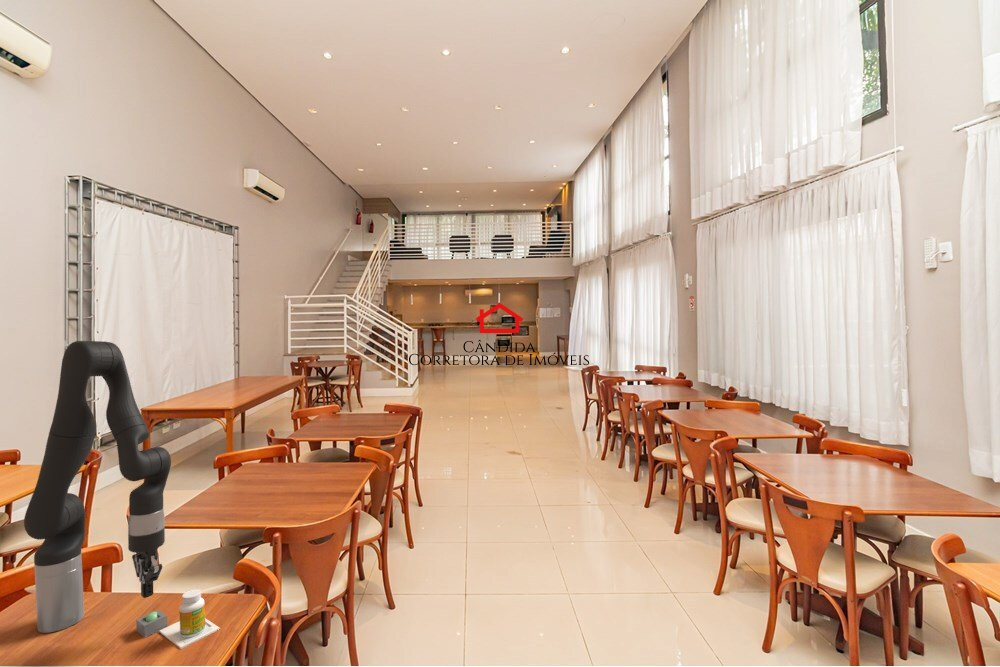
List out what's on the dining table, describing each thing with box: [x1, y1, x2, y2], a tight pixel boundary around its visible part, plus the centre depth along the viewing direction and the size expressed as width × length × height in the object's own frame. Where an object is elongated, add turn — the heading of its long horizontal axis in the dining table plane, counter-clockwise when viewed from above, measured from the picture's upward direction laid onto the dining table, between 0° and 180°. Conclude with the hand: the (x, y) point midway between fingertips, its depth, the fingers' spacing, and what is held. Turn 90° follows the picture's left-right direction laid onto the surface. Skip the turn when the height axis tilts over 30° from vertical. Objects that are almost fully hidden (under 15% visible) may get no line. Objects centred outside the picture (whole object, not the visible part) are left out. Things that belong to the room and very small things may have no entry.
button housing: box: [135, 609, 168, 638], centre depth 126 cm, size 5×5×3 cm
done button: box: [145, 611, 157, 623], centre depth 126 cm, size 2×2×3 cm
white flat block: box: [158, 617, 221, 650], centre depth 125 cm, size 12×9×1 cm
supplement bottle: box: [178, 588, 206, 638], centre depth 124 cm, size 5×5×10 cm
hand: (147, 595), depth 126 cm, fingers closed
